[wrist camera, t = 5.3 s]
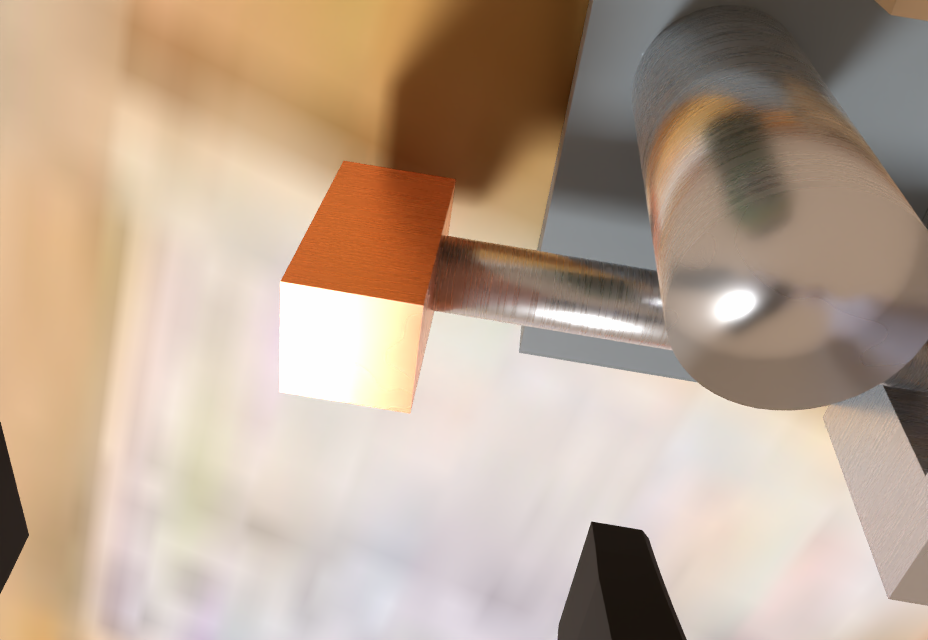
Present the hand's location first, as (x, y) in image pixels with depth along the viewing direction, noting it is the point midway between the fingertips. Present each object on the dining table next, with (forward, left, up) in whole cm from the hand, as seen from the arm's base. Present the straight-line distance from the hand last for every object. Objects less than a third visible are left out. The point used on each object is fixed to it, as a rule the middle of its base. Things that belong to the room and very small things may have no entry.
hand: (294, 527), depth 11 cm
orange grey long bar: (-5, 0, -8) cm, 10 cm away
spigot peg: (-5, -3, -8) cm, 11 cm away
